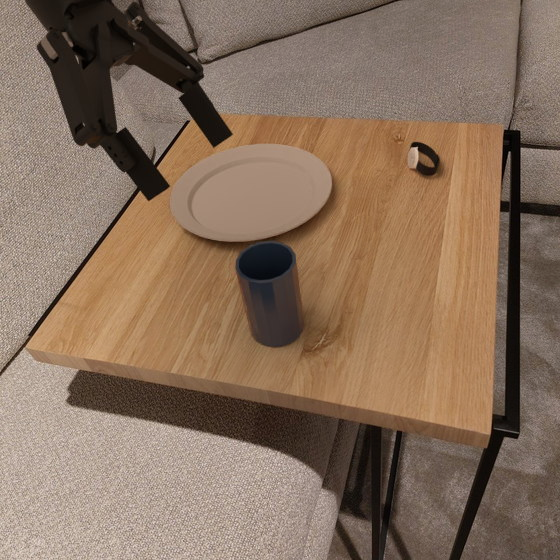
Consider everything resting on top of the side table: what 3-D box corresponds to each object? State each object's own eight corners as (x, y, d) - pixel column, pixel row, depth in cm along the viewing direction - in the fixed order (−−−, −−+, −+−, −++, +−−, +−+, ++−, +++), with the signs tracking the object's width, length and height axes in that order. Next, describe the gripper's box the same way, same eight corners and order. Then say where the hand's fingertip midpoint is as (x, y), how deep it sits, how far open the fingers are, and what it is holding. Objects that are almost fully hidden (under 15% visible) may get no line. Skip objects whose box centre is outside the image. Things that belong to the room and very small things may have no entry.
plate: (214, 147, 105) (212, 137, 104) (352, 161, 97) (352, 151, 95) (142, 236, 89) (138, 226, 87) (300, 264, 80) (299, 253, 79)
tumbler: (241, 340, 72) (225, 276, 64) (263, 301, 76) (250, 236, 68) (293, 352, 69) (282, 287, 62) (312, 312, 74) (304, 246, 66)
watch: (402, 155, 96) (402, 136, 94) (430, 150, 96) (431, 131, 94) (415, 181, 91) (416, 161, 88) (445, 176, 91) (447, 156, 88)
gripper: (-32, -33, 42) (151, 205, 48) (151, -67, 61) (267, 108, 67) (-72, 26, 47) (100, 238, 53) (111, -22, 66) (222, 138, 72)
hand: (194, 165), depth 60 cm, fingers open, 13 cm apart
